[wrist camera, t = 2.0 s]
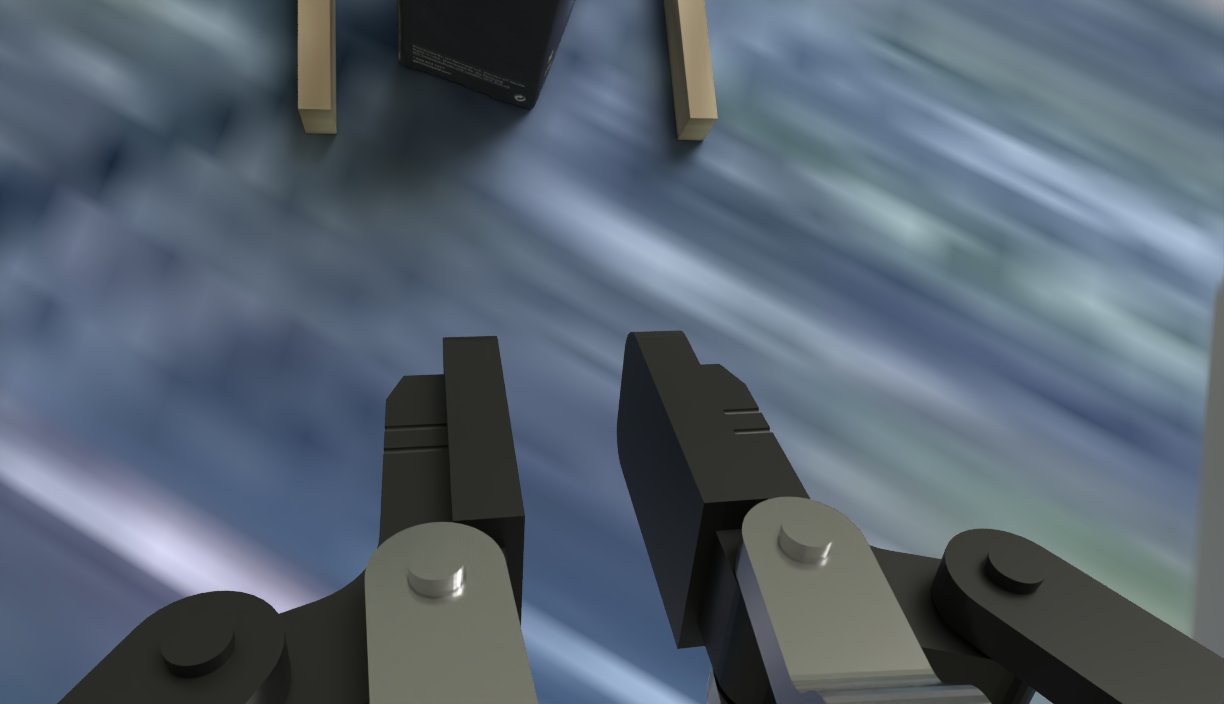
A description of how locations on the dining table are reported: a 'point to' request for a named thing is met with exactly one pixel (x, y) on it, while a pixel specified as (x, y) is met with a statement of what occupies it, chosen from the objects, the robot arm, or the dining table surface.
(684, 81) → the trap course
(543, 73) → the small box
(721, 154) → the dining table surface
